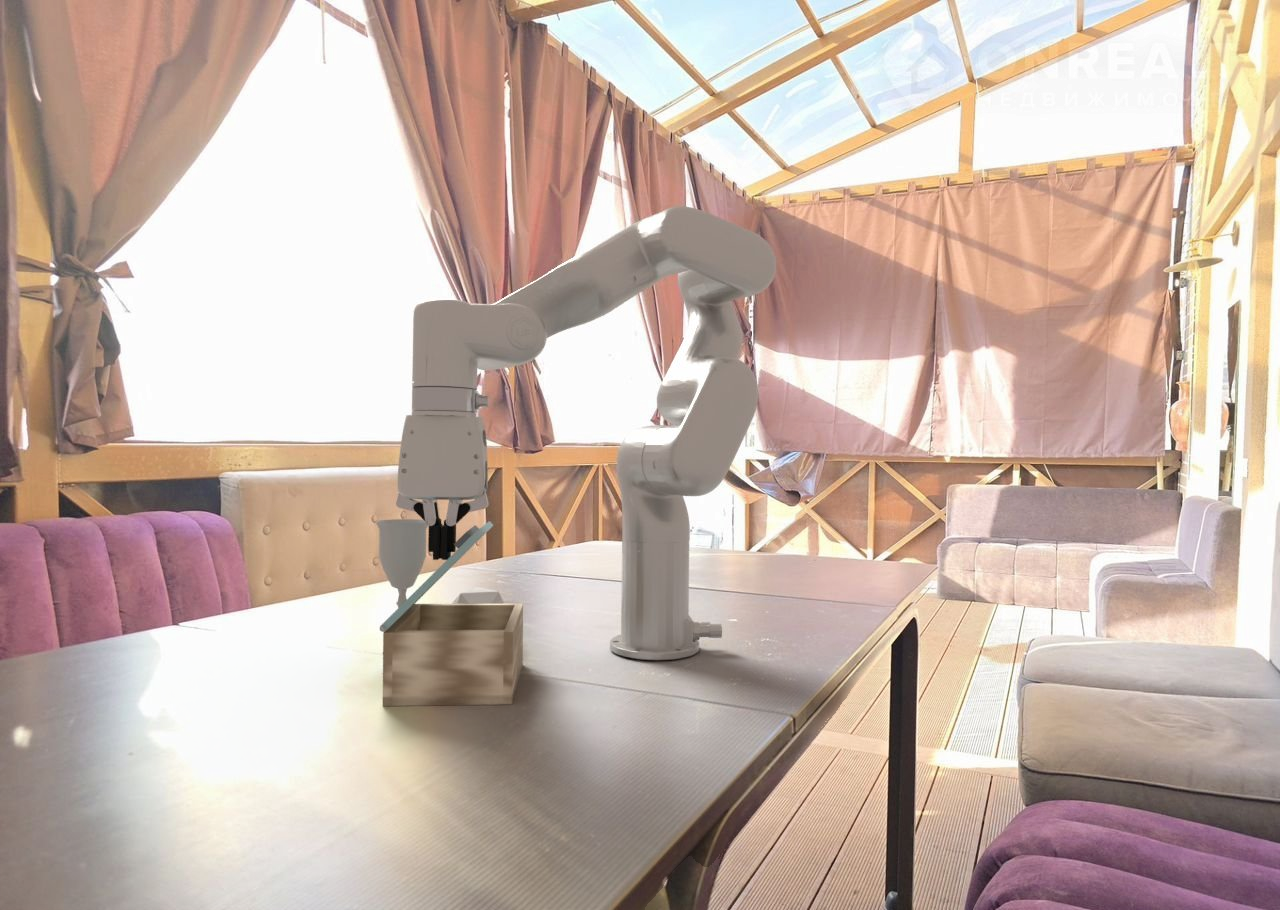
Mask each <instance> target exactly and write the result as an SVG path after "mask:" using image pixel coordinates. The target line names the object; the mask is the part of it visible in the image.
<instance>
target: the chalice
mask: <svg viewBox="0 0 1280 910" xmlns="http://www.w3.org/2000/svg"><path fill="white" fill-rule="evenodd" d="M375 524H376V526H377V528H378V529H379V530H378V531H379V532H378V533H379V535H378V538H379V539H378V541H379V542H378V543H379V544H378V552H379V553H378V554H379V555H378V558H379V561H380V563H381V567H382V569H383V571H384V574H385V575H386V577H387V579H388V582H389V584H390V586H391V587H393V589H394V588H395V589H397V592H398V598H397V601H396V602H395V604H396V606H397V609H398V608H399V607H400V606H401V605H402V604H403V603H404V602H405V601H406V600H407V599H408V598H407V594H406V593H407V591H408V590H407V589H409V588H411V587H413V586H414V584H415V583H416V581H417V578H418V577H419V575H420V573H421V571H422V569H423V566H424V563H425V560H426V558H427V528H429V526H428V525H427V524H426V522H425V521H424V520H423V519H414V518H412V519H411V518H409V519H407V518H403V519H402V518H399V519H398V518H396V519H381V520H376V521H375Z"/></svg>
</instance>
